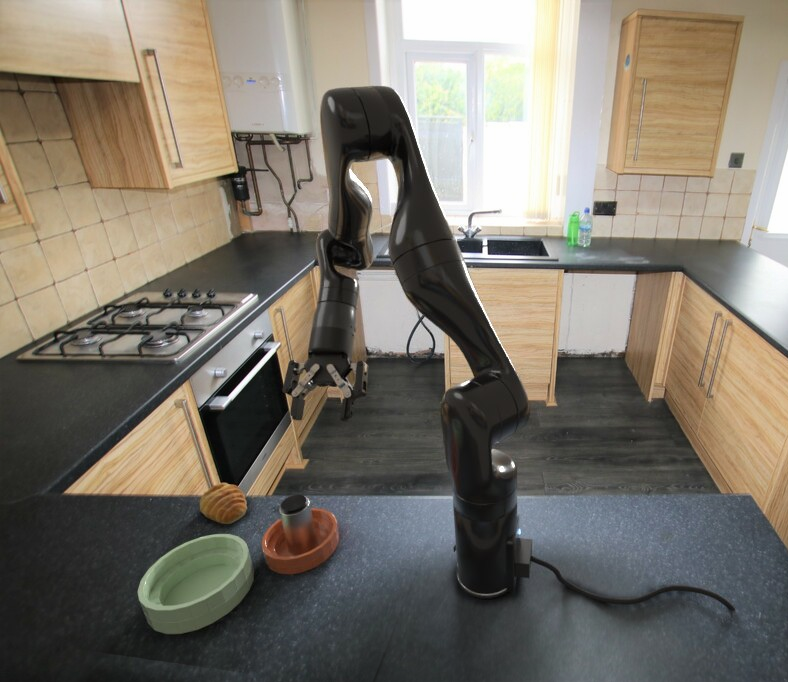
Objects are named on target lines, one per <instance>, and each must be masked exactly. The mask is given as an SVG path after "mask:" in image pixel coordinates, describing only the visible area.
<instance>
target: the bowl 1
mask: <svg viewBox="0 0 788 682" xmlns="http://www.w3.org/2000/svg"><path fill="white" fill-rule="evenodd" d="M254 581H255V567H254V565H253V561H252V557H251V553H250V551H249V547H248V545H247V542H246V541H245V540H244V539H242V538H241V537H240V536H237V535H234V534H230V533H216V534H210V535H209V534H208V535H204V536H200V537H198V538H197V537H196V538H195V539H192V540H189V541H186V542H184V543H182V544H180V545H178V546H176V547H174V548H173V549H171V550H169V551H168V552H166V553H165V554H164V555H163V556H161V557H159V558H158V559H157V560H156V561H155V562H154V563H153V564H152V565H151V566H150V567H149V568H148V569H147V571H146V572H145V573H144V575H143V576H142V578H141V579H140V582H139V585H138V588H137V597H138V602H139V604H140V606H141V609H142V611H143V614H144V616H145V619H146V622H147V624H148V625H149V626H150V628H152V629H153V630H154V631H155V632H158V633H161V634H164V635H182V634H186V633H190V632H194V631H198V630H200V629H202V628H205V627H207V626H210V625H212V624H214V623H215V622H217V621H218V620H220V619H221V618H223V617H225V616H226V615H229V613H230V612H232V611H233V610H234V609H235V608H236V607H237V606H238V605H239V604H240V603H241V602H242V601H243V600H244V599H245V597H246V596H247V594H248V593H249V592H250V590H251V587H252V585H253V583H254Z"/></svg>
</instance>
